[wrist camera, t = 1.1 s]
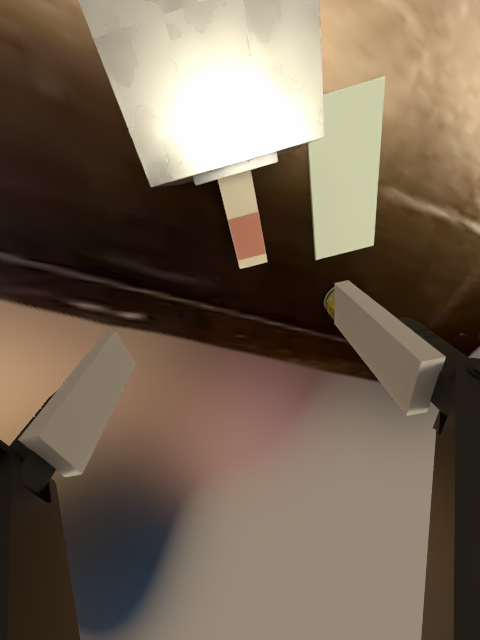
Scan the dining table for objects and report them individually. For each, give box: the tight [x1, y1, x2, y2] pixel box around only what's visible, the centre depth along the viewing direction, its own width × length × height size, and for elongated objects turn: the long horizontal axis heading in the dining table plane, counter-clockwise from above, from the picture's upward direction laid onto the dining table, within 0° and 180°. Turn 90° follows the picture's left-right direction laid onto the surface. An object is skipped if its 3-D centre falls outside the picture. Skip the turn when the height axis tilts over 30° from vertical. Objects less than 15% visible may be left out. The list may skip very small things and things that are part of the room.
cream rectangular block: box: [218, 170, 267, 269], centre depth 24 cm, size 13×3×8 cm, turn 14°
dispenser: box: [78, 0, 324, 187], centre depth 18 cm, size 12×12×13 cm
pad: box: [307, 76, 385, 260], centre depth 28 cm, size 17×8×1 cm, turn 14°
